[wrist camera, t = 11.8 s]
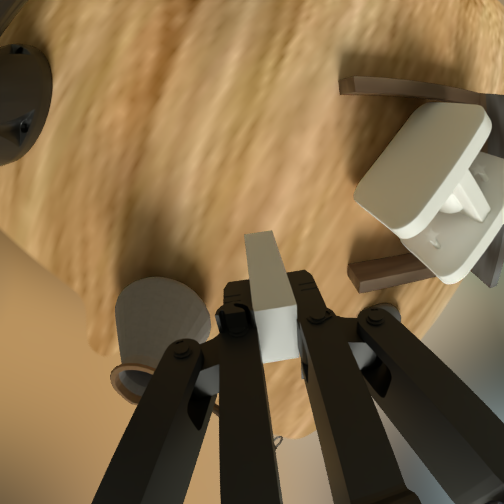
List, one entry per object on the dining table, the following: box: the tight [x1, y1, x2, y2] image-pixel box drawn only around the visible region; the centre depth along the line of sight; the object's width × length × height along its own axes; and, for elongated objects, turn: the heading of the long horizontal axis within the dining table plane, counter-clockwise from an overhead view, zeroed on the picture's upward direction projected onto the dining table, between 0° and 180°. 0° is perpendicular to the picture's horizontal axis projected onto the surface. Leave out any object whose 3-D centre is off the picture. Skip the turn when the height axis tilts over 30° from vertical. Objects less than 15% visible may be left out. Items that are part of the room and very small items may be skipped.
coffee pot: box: [110, 277, 283, 450], centre depth 29 cm, size 21×12×15 cm, turn 54°
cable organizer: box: [354, 102, 504, 284], centre depth 23 cm, size 15×11×12 cm
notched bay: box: [338, 76, 504, 293], centre depth 25 cm, size 22×18×9 cm
